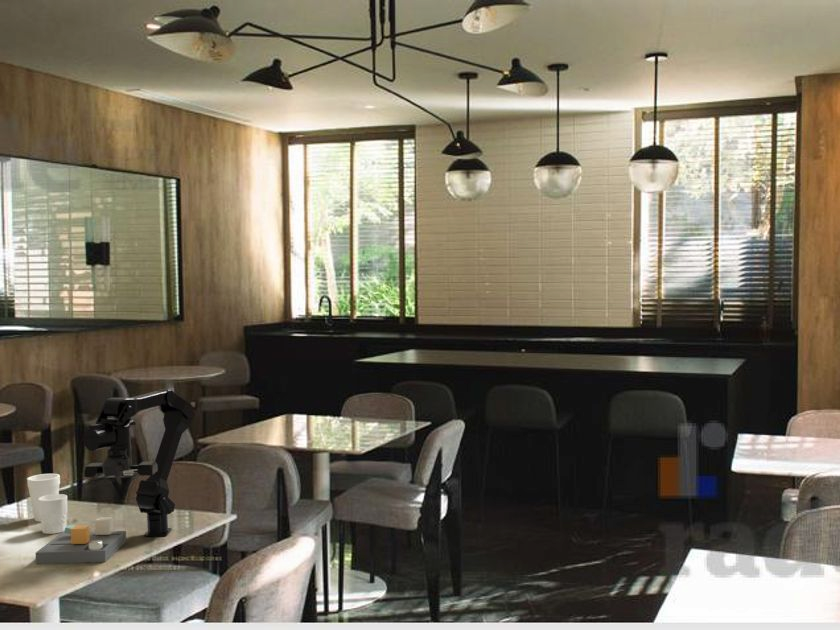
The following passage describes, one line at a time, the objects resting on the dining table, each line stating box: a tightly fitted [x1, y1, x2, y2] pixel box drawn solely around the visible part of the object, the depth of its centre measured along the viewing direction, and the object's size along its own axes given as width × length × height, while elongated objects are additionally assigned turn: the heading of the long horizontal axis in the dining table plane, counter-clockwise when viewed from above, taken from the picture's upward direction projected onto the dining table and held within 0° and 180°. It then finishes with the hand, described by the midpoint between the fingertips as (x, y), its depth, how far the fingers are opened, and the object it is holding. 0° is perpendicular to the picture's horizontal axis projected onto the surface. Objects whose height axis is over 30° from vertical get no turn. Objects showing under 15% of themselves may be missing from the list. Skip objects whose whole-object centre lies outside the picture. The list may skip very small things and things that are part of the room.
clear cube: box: [89, 540, 103, 550], centre depth 243 cm, size 4×4×4 cm
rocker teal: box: [63, 524, 91, 534], centre depth 253 cm, size 3×6×2 cm, turn 91°
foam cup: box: [26, 473, 61, 522], centre depth 284 cm, size 10×9×13 cm
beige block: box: [94, 516, 114, 535], centre depth 254 cm, size 3×4×4 cm
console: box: [35, 530, 127, 565], centre depth 248 cm, size 18×18×4 cm
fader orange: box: [70, 525, 91, 544], centre depth 246 cm, size 3×4×4 cm
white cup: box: [38, 493, 68, 535], centre depth 270 cm, size 8×8×10 cm
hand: (122, 500), depth 252 cm, fingers closed
